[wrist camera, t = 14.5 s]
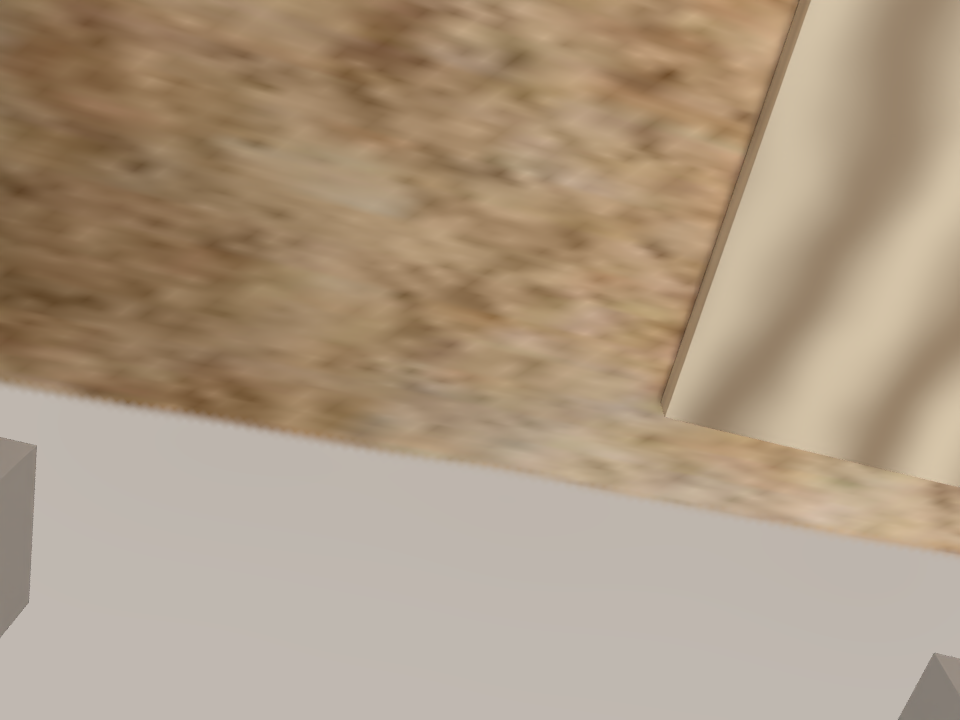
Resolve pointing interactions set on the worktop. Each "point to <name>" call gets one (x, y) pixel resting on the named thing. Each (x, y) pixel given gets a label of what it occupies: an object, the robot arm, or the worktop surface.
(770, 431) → the maple board
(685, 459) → the worktop surface
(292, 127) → the worktop surface
